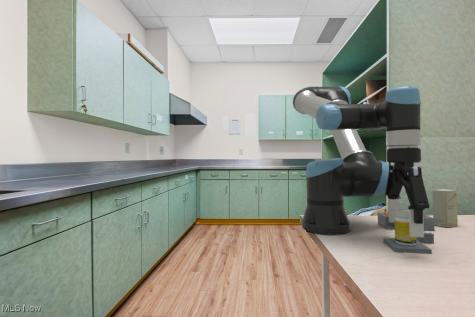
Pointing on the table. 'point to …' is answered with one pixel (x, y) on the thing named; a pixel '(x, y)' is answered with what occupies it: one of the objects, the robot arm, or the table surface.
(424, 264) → the table surface
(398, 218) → the supplement bottle
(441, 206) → the skincare box
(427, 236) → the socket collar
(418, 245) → the pad
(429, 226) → the plunger block
